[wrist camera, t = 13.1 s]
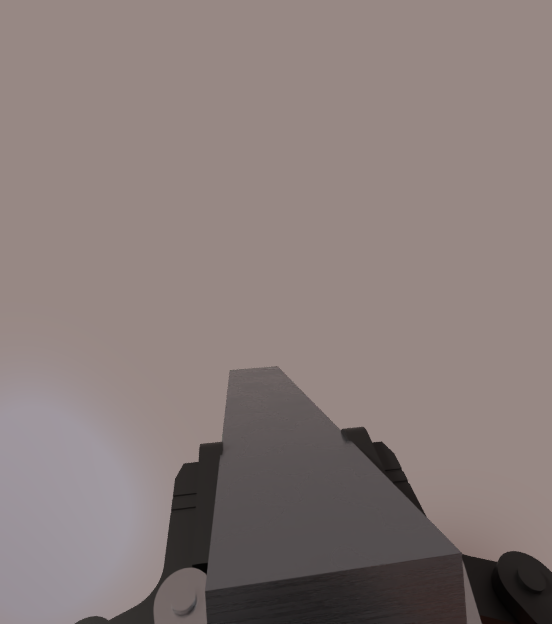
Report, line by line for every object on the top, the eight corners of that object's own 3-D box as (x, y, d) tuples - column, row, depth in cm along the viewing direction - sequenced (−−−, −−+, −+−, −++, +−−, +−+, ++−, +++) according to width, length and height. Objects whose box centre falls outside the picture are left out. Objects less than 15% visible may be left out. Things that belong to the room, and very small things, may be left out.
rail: (222, 875, 5) (205, 590, 5) (232, 418, 30) (229, 370, 30) (481, 813, 6) (461, 553, 6) (280, 414, 30) (277, 366, 31)
